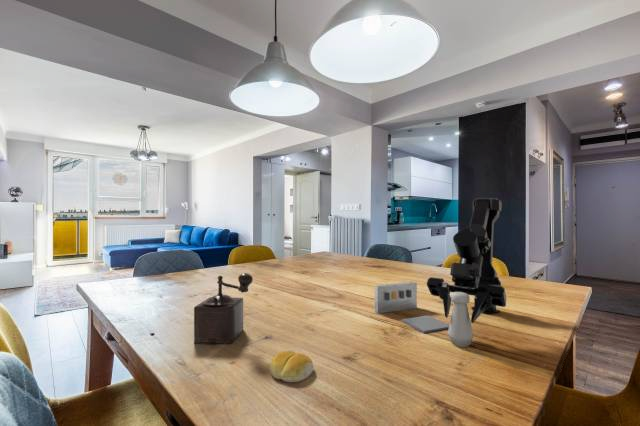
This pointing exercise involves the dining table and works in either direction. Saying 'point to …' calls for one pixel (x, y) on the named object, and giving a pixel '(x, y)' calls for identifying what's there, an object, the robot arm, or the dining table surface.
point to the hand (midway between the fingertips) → (458, 319)
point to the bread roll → (291, 366)
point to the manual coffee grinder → (221, 315)
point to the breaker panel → (395, 297)
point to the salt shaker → (460, 321)
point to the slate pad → (426, 324)
